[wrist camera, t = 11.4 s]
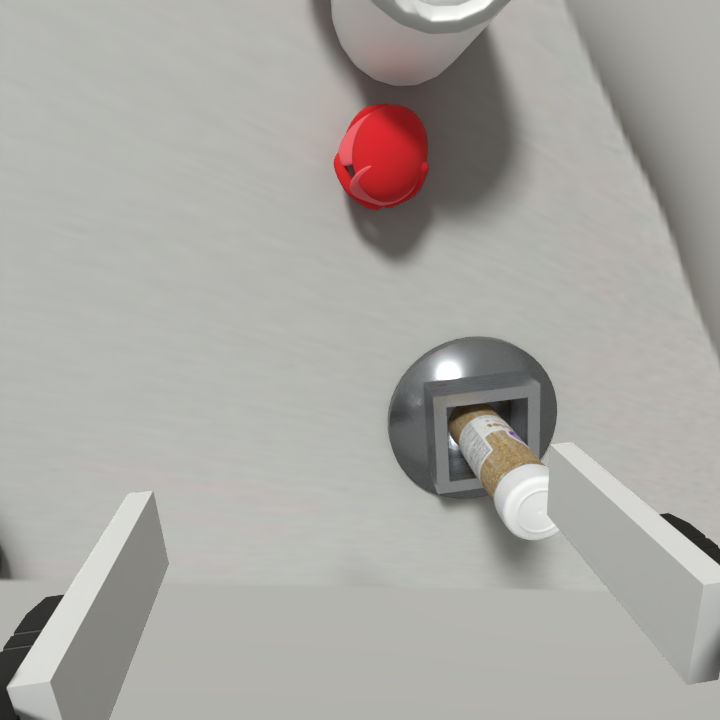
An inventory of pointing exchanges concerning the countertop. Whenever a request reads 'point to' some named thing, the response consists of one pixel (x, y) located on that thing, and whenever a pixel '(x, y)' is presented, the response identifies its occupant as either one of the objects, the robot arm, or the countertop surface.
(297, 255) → the countertop surface
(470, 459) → the sprinkles bottle
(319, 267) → the countertop surface
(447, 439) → the square hole disc
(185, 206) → the countertop surface
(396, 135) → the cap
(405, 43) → the mug
